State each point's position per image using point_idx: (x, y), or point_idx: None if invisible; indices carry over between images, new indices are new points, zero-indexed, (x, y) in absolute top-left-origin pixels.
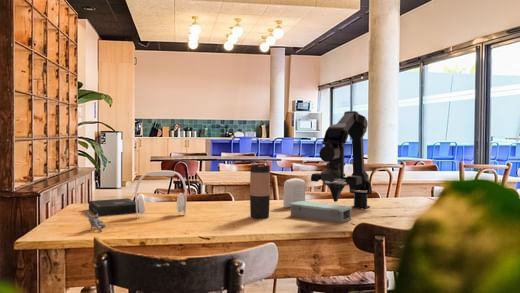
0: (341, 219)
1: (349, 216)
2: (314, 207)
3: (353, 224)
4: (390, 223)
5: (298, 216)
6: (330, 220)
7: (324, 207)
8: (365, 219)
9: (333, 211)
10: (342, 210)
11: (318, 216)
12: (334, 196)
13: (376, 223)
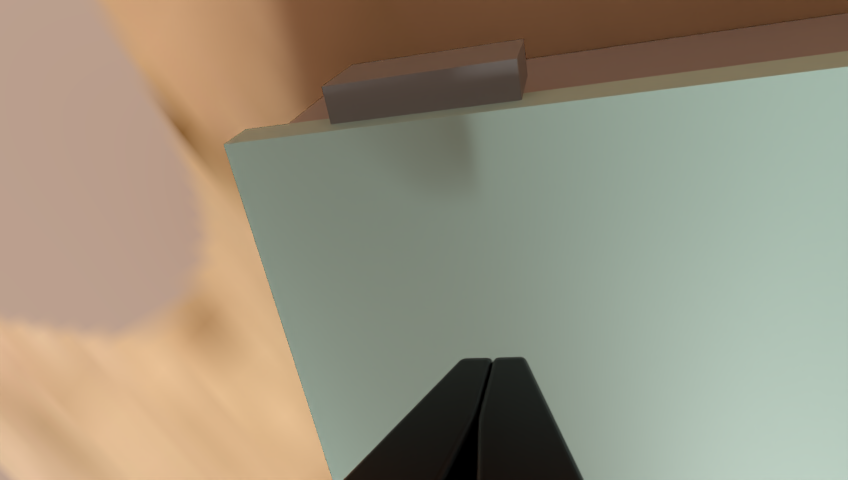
0: (324, 99)
1: None
2: None
3: (168, 118)
4: (22, 429)
5: None
6: (541, 58)
7: (735, 115)
8: (297, 461)
9: (422, 66)
10: (235, 153)
11: (838, 27)
12: (478, 451)
13: (81, 352)
